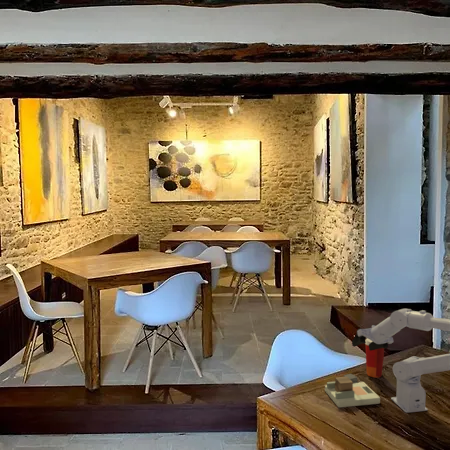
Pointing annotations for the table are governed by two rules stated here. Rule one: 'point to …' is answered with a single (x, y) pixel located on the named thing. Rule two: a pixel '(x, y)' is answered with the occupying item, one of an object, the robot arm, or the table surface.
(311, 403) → the table surface
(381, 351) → the paper cup
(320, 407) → the table surface
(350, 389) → the walnut block
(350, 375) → the charcoal block
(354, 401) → the board
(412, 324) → the robot arm
